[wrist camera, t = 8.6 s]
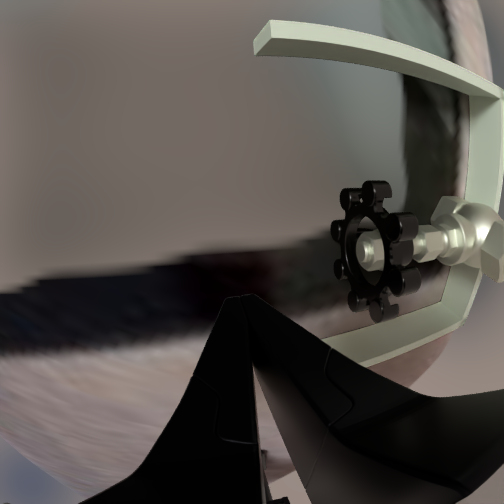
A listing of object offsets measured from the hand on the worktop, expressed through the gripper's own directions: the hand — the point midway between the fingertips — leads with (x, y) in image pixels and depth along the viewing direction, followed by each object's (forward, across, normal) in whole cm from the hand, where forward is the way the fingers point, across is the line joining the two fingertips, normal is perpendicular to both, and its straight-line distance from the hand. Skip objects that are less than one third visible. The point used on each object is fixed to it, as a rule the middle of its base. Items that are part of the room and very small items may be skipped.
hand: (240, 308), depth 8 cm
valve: (+7, -12, +1) cm, 14 cm away
